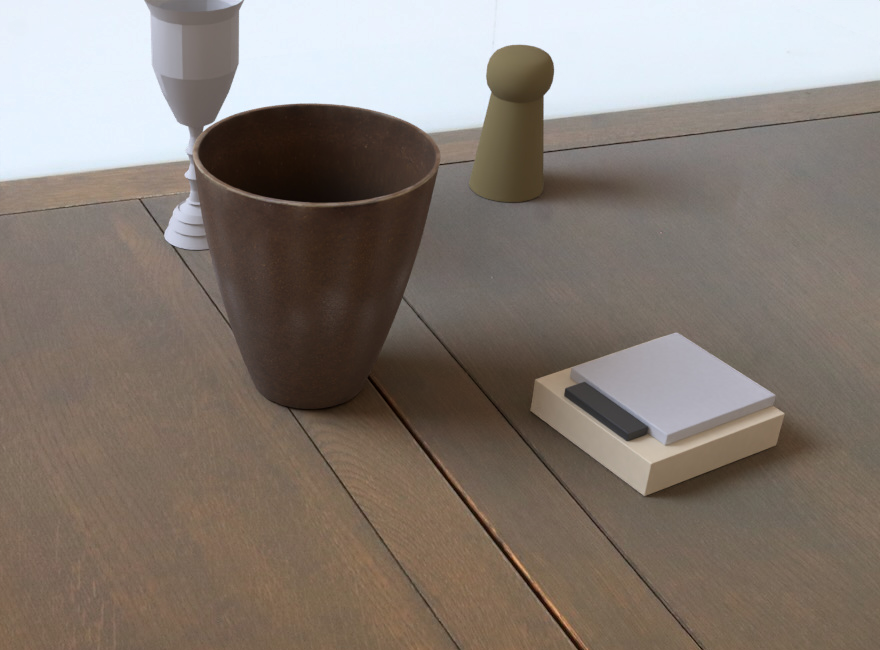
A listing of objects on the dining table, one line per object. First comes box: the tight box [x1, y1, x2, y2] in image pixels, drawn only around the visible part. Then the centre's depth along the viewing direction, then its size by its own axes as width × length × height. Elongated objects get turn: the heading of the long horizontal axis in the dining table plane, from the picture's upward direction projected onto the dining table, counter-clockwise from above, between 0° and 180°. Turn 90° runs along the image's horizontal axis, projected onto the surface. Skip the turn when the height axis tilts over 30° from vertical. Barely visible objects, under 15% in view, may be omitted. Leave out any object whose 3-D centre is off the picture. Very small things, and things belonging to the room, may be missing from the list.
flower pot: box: [192, 102, 441, 410], centre depth 100 cm, size 15×15×16 cm
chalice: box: [143, 0, 245, 251], centre depth 115 cm, size 7×7×18 cm
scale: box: [530, 331, 786, 497], centre depth 100 cm, size 11×11×3 cm
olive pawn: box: [468, 44, 555, 203], centre depth 124 cm, size 6×6×11 cm
